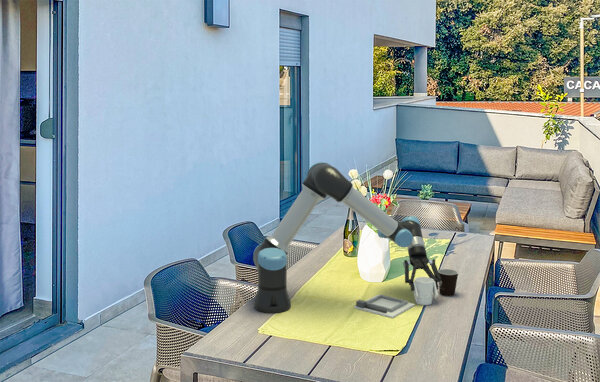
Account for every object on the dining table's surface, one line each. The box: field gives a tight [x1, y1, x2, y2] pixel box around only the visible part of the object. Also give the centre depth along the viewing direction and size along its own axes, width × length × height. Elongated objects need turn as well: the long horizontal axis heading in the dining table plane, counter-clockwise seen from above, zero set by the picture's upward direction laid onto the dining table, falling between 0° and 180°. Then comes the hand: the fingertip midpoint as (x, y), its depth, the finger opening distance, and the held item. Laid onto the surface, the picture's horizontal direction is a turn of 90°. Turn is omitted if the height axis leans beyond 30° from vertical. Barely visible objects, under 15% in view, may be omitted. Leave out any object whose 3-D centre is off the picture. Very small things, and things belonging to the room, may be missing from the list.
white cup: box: [414, 276, 434, 306], centre depth 263 cm, size 8×8×10 cm
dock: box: [353, 294, 416, 319], centre depth 258 cm, size 18×18×3 cm
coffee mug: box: [437, 268, 459, 297], centre depth 276 cm, size 12×9×10 cm
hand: (426, 297), depth 260 cm, fingers closed on white cup, 8 cm apart
